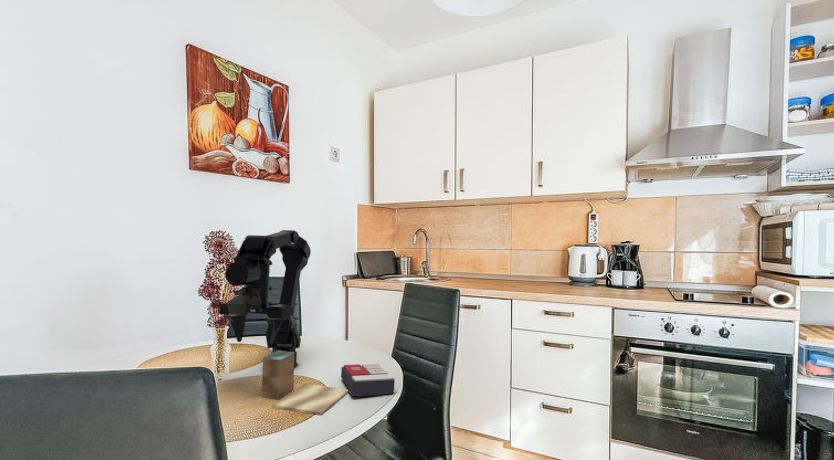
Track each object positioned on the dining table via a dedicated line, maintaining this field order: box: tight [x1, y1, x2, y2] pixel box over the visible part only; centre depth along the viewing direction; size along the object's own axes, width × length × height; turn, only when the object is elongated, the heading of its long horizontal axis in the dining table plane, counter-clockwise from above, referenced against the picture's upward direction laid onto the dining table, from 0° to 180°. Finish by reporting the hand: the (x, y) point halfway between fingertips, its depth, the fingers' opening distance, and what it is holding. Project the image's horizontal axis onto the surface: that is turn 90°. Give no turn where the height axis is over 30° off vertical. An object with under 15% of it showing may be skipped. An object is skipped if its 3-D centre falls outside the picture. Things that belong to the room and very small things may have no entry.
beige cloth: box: [271, 383, 350, 416], centre depth 95 cm, size 13×14×1 cm
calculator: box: [340, 363, 395, 398], centre depth 104 cm, size 11×4×15 cm
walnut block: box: [261, 351, 295, 401], centre depth 98 cm, size 5×6×10 cm
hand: (254, 343), depth 100 cm, fingers open, 9 cm apart
